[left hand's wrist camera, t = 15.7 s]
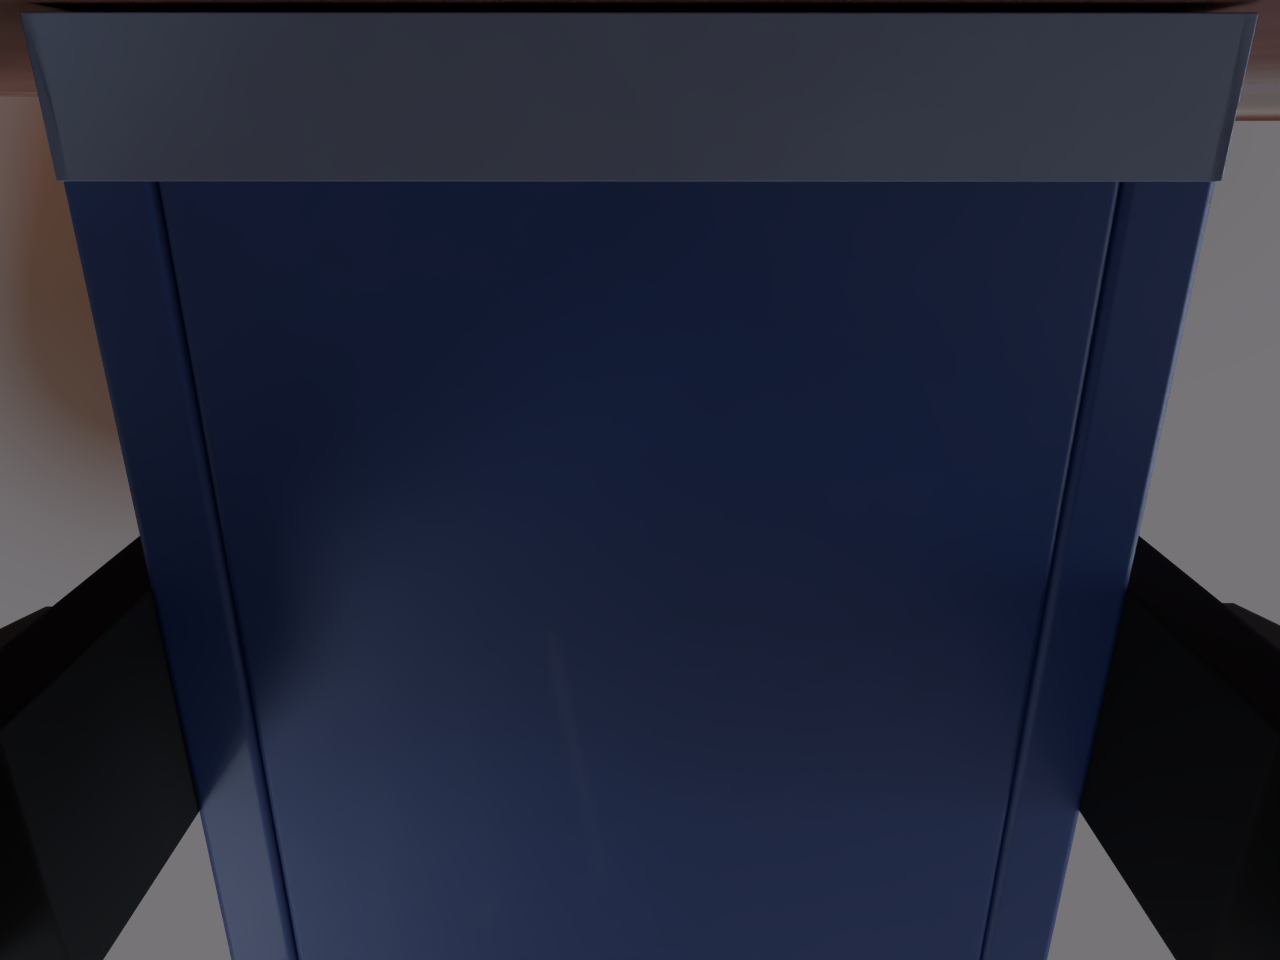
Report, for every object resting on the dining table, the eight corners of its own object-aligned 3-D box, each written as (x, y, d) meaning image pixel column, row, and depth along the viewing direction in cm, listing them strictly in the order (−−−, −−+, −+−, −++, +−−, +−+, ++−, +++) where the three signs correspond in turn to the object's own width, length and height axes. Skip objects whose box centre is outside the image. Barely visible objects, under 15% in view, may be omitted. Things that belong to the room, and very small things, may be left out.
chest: (846, 91, 21) (815, 494, 25) (433, 91, 21) (463, 493, 25) (1260, 10, 7) (1048, 975, 11) (19, 11, 7) (229, 975, 11)
